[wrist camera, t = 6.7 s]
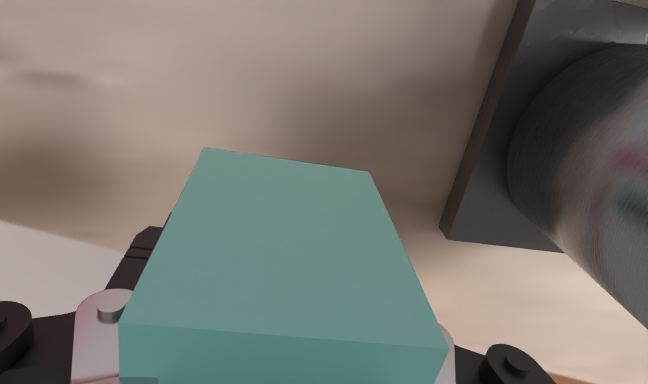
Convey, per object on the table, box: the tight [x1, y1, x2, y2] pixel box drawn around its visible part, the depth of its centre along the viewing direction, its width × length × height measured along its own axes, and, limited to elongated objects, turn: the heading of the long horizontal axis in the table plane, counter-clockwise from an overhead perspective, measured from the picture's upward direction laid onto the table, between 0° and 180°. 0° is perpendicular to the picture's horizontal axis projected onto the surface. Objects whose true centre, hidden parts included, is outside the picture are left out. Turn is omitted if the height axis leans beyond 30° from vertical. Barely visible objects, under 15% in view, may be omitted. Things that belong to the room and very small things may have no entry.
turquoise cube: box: [118, 147, 449, 384], centre depth 10 cm, size 6×5×7 cm
